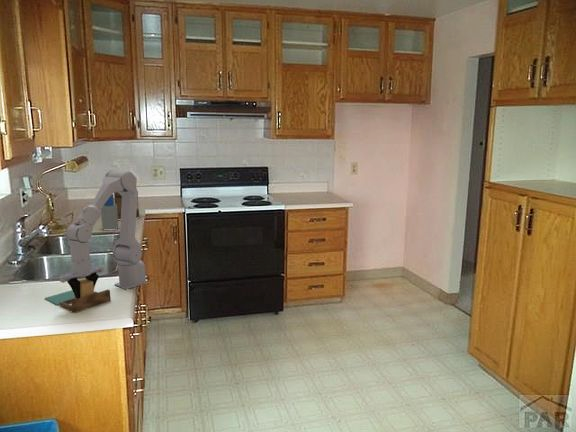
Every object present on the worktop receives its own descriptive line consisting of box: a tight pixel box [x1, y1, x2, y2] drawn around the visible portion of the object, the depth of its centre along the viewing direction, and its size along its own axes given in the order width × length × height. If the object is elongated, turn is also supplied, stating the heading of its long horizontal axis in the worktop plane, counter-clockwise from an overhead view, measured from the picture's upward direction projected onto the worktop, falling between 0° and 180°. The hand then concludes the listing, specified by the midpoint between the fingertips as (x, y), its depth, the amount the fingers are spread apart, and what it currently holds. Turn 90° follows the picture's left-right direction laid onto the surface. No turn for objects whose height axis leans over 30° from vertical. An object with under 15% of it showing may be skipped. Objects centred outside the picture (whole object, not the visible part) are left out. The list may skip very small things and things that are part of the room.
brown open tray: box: [58, 289, 111, 314], centre depth 156 cm, size 13×10×4 cm
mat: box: [44, 289, 75, 306], centre depth 163 cm, size 14×10×1 cm
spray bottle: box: [100, 193, 119, 230], centre depth 264 cm, size 9×9×25 cm
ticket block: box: [74, 277, 95, 299], centre depth 156 cm, size 4×6×8 cm, turn 52°
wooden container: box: [113, 190, 140, 219], centre depth 295 cm, size 15×15×22 cm
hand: (84, 296), depth 156 cm, fingers closed on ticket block, 4 cm apart
